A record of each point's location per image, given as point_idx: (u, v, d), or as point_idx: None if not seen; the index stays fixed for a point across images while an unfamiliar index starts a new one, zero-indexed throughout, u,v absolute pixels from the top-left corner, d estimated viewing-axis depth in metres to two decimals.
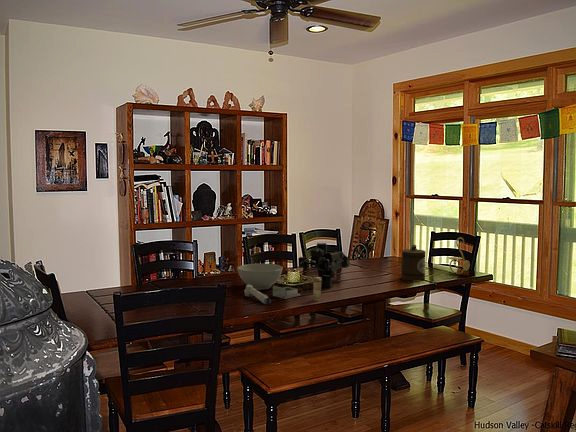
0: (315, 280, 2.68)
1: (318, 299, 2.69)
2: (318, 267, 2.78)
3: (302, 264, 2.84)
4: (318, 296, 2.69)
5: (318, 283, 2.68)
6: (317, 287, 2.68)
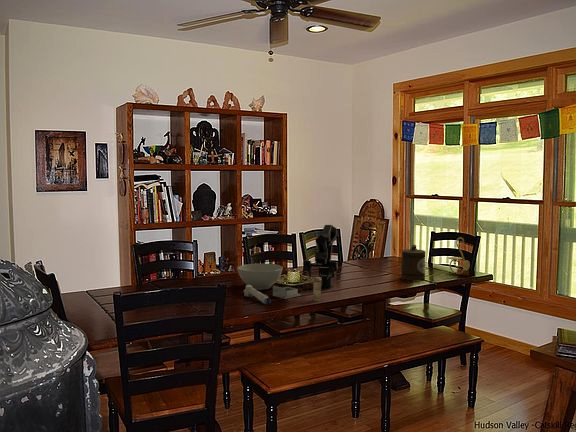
0: (315, 280, 2.68)
1: (318, 299, 2.69)
2: (329, 275, 2.75)
3: (310, 272, 2.77)
4: (318, 296, 2.69)
5: (318, 283, 2.68)
6: (317, 287, 2.68)
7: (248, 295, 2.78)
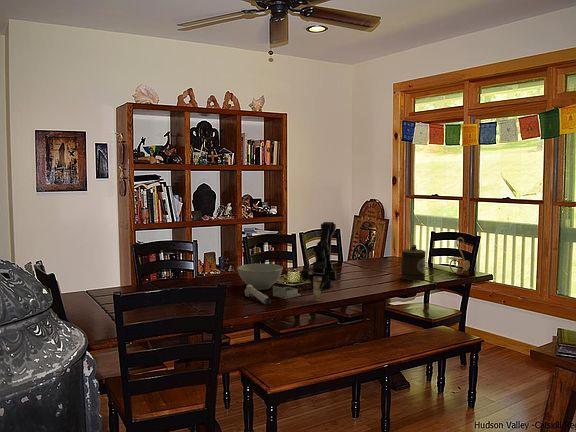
0: (315, 280, 2.68)
1: (318, 299, 2.69)
2: (323, 285, 2.70)
3: None
4: (318, 296, 2.69)
5: (318, 283, 2.68)
6: (317, 287, 2.68)
7: (249, 295, 2.78)
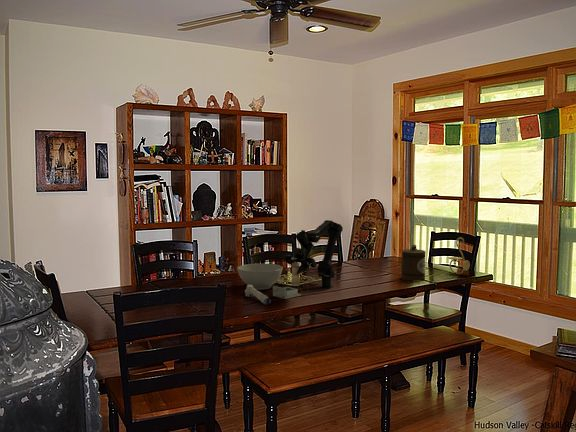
0: (292, 265, 2.74)
1: (295, 284, 2.74)
2: (301, 270, 2.74)
3: None
4: (295, 281, 2.74)
5: (295, 269, 2.73)
6: (294, 272, 2.73)
7: (249, 295, 2.78)
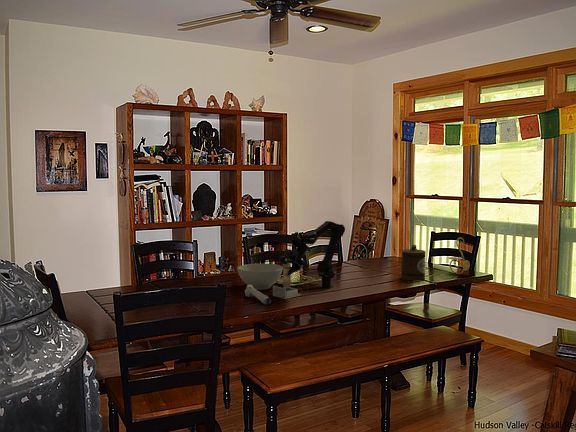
0: (283, 266, 2.79)
1: (286, 285, 2.78)
2: (292, 272, 2.78)
3: None
4: (286, 282, 2.78)
5: (286, 270, 2.78)
6: (285, 273, 2.78)
7: (249, 295, 2.78)
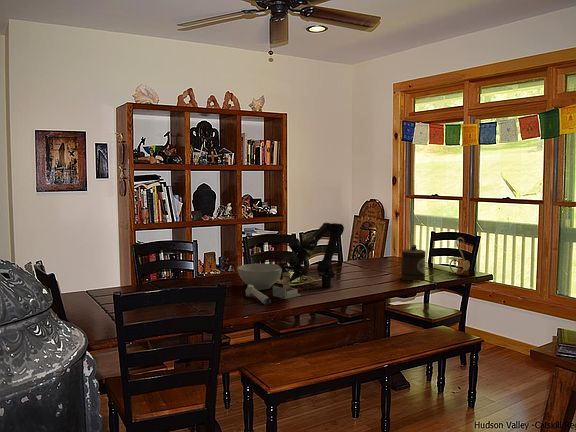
0: (283, 275, 2.79)
1: None
2: (294, 278, 2.77)
3: None
4: None
5: (285, 279, 2.78)
6: (284, 282, 2.78)
7: (249, 295, 2.78)
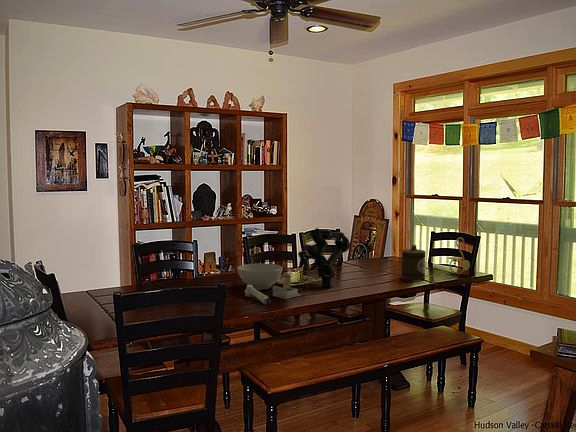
0: (283, 275, 2.79)
1: None
2: (314, 267, 2.84)
3: (302, 263, 2.91)
4: (286, 290, 2.79)
5: (286, 278, 2.78)
6: (285, 282, 2.79)
7: (249, 295, 2.78)
